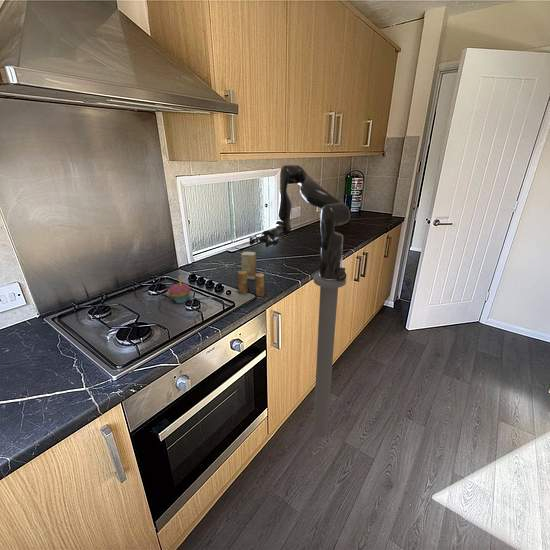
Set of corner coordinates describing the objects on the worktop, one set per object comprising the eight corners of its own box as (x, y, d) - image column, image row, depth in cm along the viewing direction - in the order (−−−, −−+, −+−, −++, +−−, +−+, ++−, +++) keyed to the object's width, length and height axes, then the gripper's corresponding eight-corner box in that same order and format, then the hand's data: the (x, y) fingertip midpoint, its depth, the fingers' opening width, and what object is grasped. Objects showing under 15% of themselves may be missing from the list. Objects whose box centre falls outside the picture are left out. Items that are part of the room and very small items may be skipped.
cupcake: (196, 299, 119) (192, 272, 115) (179, 307, 113) (174, 279, 108) (182, 293, 124) (178, 267, 119) (165, 302, 118) (160, 274, 113)
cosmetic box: (241, 279, 137) (240, 254, 132) (244, 275, 141) (242, 251, 136) (255, 279, 136) (254, 255, 131) (257, 276, 140) (256, 251, 135)
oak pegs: (266, 293, 123) (265, 273, 120) (262, 296, 120) (261, 276, 117) (241, 289, 127) (240, 269, 124) (237, 292, 124) (236, 273, 121)
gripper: (258, 227, 157) (244, 235, 144) (283, 229, 152) (271, 238, 139) (259, 240, 160) (245, 249, 147) (283, 243, 155) (271, 253, 142)
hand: (258, 244), depth 143 cm, fingers open, 8 cm apart
